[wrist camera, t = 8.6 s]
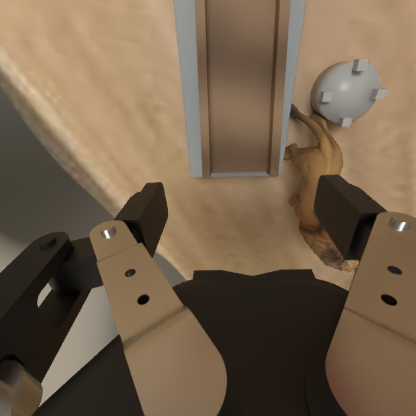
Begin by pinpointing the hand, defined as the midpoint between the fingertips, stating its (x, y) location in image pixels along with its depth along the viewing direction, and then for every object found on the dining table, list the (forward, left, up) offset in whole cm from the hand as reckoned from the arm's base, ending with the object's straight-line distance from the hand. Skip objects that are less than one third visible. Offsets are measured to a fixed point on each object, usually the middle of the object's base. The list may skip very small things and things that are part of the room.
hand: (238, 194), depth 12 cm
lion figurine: (-5, -9, -13) cm, 16 cm away
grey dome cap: (+3, -9, -13) cm, 16 cm away
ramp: (+5, 0, -10) cm, 12 cm away
